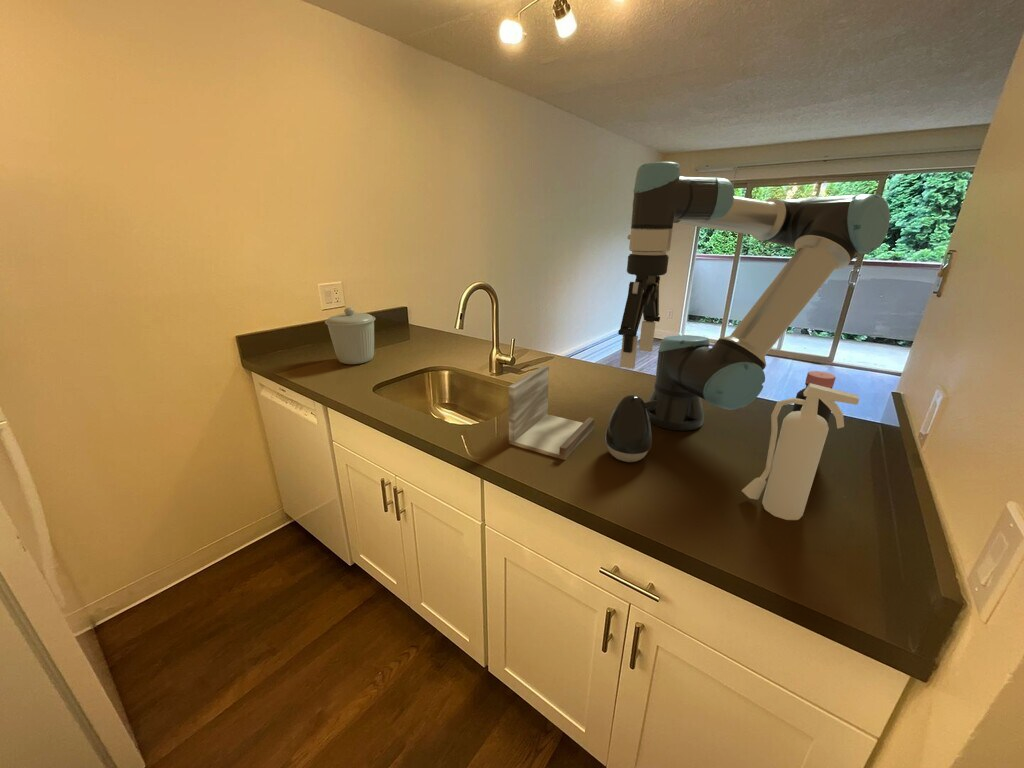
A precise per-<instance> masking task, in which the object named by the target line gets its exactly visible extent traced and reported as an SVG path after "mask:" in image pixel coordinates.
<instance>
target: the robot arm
mask: <svg viewBox="0 0 1024 768" xmlns="http://www.w3.org/2000/svg"><path fill="white" fill-rule="evenodd" d="M635 175H636V177H635V182H634V187H633V188H634V189H633V200H632V214H631V223H630V224H631V226H630V233H629V234H628V235H627V240H629V245H628V246H629V247H628V249H629V251H630V252H631V253H629V255H628V256H627V265H626V272H627V274H628V275H634V276H635V280H634V281H629V284H628V291H627V298H626V302H625V305H624V310H623V315H622V317H621V318H622V320H621V323H620V327H619V330H618V332H617V333H618V335H619V336H622V340H621V350H620V360H619V361H620V362H619V367H620V368H624V369H625V368H627V369H632V370H633V369H635V366H636V357H637V348H638V350H639V351H643V352H650V353H651V352H653V345H654V339H655V329H656V323H657V322H658V323H659V322H660V320H661V317H660V316H659V315H660V281H661V276H665V275H666V274H667V272H668V265H669V260H670V259H669V258H670V256H669V255H668V254H667V253H668V252H670V250H671V245H672V236H673V235H672V234H673V227H674V224H679V225H683V226H685V225H686V226H692V227H698V228H703V229H711V230H719V231H725V232H731V233H732V232H733V233H738V234H744V235H745V234H746V235H751V236H752V237H753V239H755V240H757V241H761V242H762V241H763V242H767V243H771V244H774V245H775V244H776V245H779V246H783V247H788V248H791V249H795V253H794V254H793V255H792V256H791V257H790V259H789V260H788V261H787V263H786V264H785V265H784V266H783V268H782V269H781V270H780V272H779V273H778V274H777V275H776V277H774V279H773V281H771V283H770V285H769V286H767V288H766V290H764V292H763V293H762V294H761V296H760V297H759V299H757V301H756V302H755V303H754V305H753V306H752V307H751V309H750V310H749V311H748V313H746V315H745V316H744V317H743V318H742V320H741V321H740V322H739V323H738V325H737V326H736V327H735V328H734V330H733V331H732V333H731V334H730V335H729V336H724V337H719V338H718V339H717V341H716V342H715V343H714V344H713V346H712V347H710V339H709V337H705V336H701V335H693V334H692V335H691V334H686V335H685V334H683V335H682V334H681V335H670V336H666V337H664V338H662V339H661V340H660V344H659V348H658V351H657V353H658V354H657V363H656V371H655V379H654V380H655V381H654V386H653V388H654V389H653V391H652V393H651V394H650V396H649V399H648V401H647V402H649V401H654V400H656V401H657V402H658V404H657V405H655V406H652V407H650V408H647V410H648V413H649V417H650V421H651V425H652V424H653V425H655V426H656V427H660V428H662V429H667V430H672V431H692V430H693V431H694V430H697V429H699V428H701V427H702V426H703V424H704V419H705V414H704V410H703V409H704V408H703V404H702V399H703V400H704V401H706V402H707V403H709V404H710V405H712V406H717V407H719V408H721V409H722V410H723V409H724V410H728V411H729V410H730V411H731V410H737V409H738V410H739V409H742V408H744V407H746V406H748V405H750V404H751V403H752V402H753V401H754V400H756V399H757V397H758V396H759V395H760V394H761V392H762V391H763V388H764V385H763V384H764V383H765V382H766V374H765V371H764V369H766V367H767V362H766V358H765V357H766V355H768V354H769V352H770V350H771V349H772V348H773V347H774V345H775V344H776V343H777V342H778V341H779V339H780V338H781V336H782V335H783V334H784V333H785V331H787V329H788V328H789V327H790V326H791V325H792V323H793V322H794V320H795V319H796V318H797V317H798V316H799V315H800V313H801V312H802V311H803V310H804V308H805V307H806V306H807V305H808V303H809V302H810V301H811V299H812V298H813V297H814V296H815V294H816V293H817V292H818V291H819V289H820V288H821V287H822V285H824V283H825V282H826V281H827V280H828V278H829V277H830V276H831V274H833V272H834V271H835V270H841V269H844V268H846V267H847V266H849V264H850V263H851V262H852V261H853V259H854V258H855V257H856V256H857V255H858V254H861V255H865V254H869V253H872V252H874V251H875V250H876V251H877V249H878V248H879V247H880V246H881V244H883V242H884V241H885V238H886V236H887V234H888V231H889V228H890V227H889V226H890V219H891V213H890V212H891V211H890V207H889V204H888V203H887V200H886V199H885V198H884V197H883V196H881V195H880V194H876V193H875V194H874V193H873V194H871V193H869V194H868V193H867V194H864V193H862V192H861V193H856V194H854V195H853V194H852V195H851V194H849V195H831V196H830V195H829V196H827V195H826V196H811V197H803V198H791V199H781V198H776V197H775V198H768V199H765V200H758V199H753V198H747V197H744V196H743V197H741V196H736V195H735V188H734V186H733V185H734V184H733V183H732V182H731V181H730V180H729V179H727V178H724V177H723V178H722V177H717V176H710V177H707V176H705V177H704V176H698V177H697V176H682V175H681V166H680V164H679V163H678V162H673V161H653V162H646V163H643V164H641V165H640V166H639V167H638V168H637V171H636V174H635ZM642 317H643V320H642ZM641 320H642V321H641ZM640 324H641V328H640V337H639V335H637V334H638V330H639V327H640ZM638 341H639V345H638ZM637 345H638V346H637Z"/></svg>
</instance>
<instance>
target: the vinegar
mask: <svg viewBox="0 0 1024 768" xmlns="http://www.w3.org/2000/svg"><path fill="white" fill-rule="evenodd" d="M835 381H836V376H835V374H832V373H829V372H825V371H818V370H811V371H808V372H807V375H806V377H805V388H803V389H801V390H799V391H798V392H797V393H796V395H795V398H797V399H803V400H806V398H807V396H804V393H803V392H804V391H805V389H806V388H807V386H808V385H809V384H810V383H811V384H815V385H819V386H823V387H827V388H831V389H833V387H834V385H835ZM802 406H803V405H801V404H795V403H793V407H792V411H801V408H802ZM792 411H791V412H792ZM831 414H832V412H831V410H830V408H829V407H828V406H827V405H826V404H824V403H823V402H822V401H821V400H820V399H819V401H818V411H817V415H819V416H821V417H823V418H824V419H825V420H826V421H827V424H828V425H829V422H830V417H831Z"/></svg>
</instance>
